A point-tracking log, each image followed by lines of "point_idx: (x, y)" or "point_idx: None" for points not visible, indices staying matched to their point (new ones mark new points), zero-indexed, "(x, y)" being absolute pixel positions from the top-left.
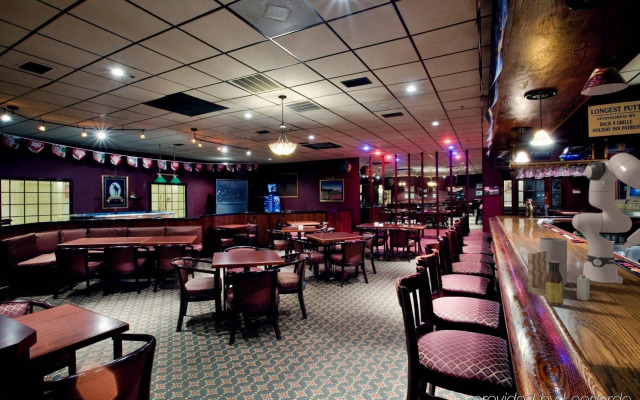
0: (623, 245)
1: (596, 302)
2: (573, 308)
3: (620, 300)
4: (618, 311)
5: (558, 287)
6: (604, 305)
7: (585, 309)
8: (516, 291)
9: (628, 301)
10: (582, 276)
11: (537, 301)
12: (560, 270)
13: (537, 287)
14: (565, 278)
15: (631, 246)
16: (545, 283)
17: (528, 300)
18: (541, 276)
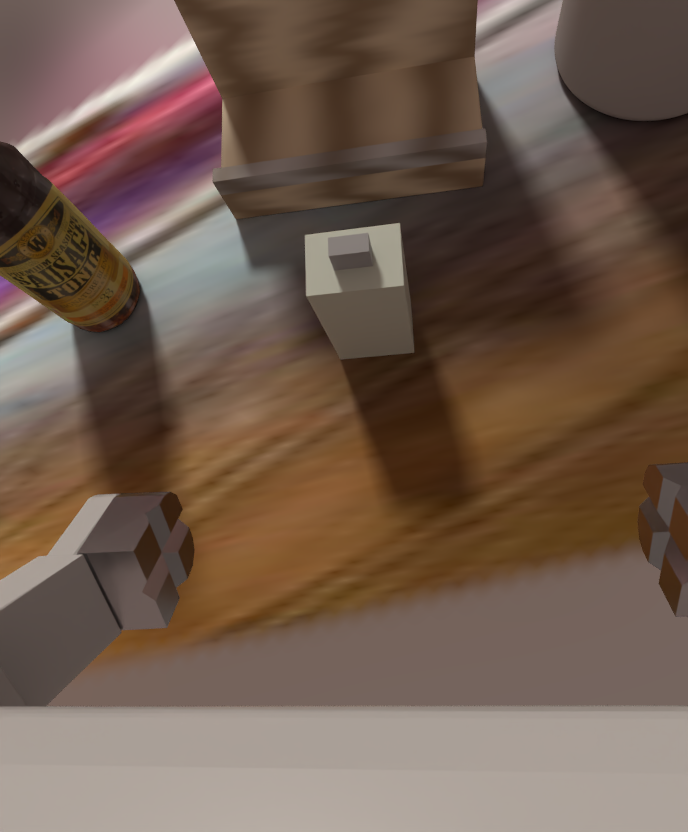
0: (59, 549)
1: (362, 407)
2: (118, 378)
3: (569, 483)
4: (264, 550)
5: None
6: (332, 459)
7: (150, 423)
8: (204, 69)
9: (594, 525)
10: (330, 250)
11: (99, 222)
12: (632, 3)
13: (251, 112)
14: (665, 80)
15: (662, 581)
16: (408, 81)
17: (80, 190)
18: (373, 23)
